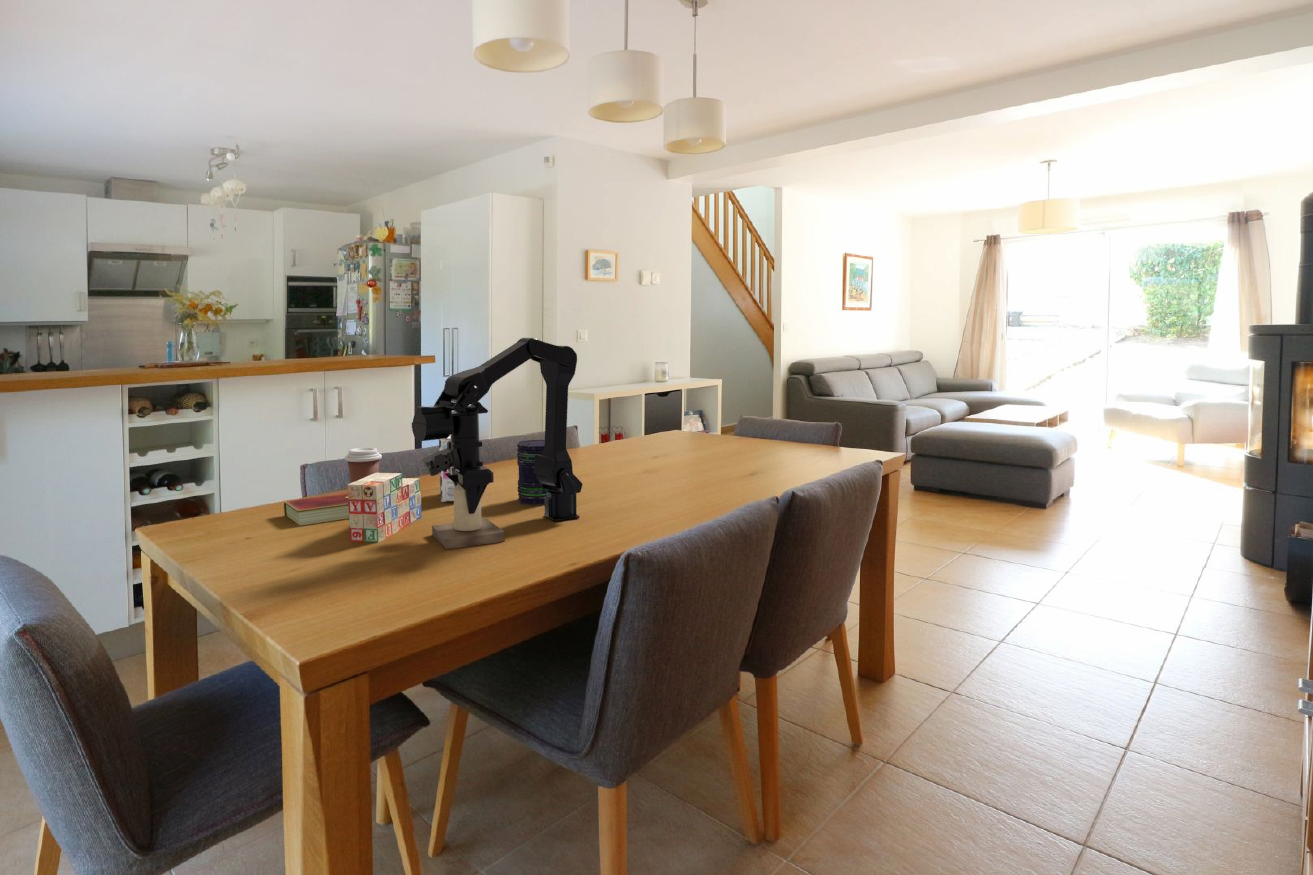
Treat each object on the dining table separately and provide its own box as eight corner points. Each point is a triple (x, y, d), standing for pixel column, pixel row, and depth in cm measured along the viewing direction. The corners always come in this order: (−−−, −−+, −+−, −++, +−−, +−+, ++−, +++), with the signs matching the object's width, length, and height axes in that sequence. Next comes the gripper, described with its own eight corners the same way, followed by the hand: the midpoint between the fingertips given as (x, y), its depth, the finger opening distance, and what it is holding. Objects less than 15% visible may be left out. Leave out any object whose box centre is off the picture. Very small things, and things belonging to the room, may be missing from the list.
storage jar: (537, 494, 199) (536, 438, 197) (565, 499, 194) (564, 442, 191) (509, 501, 191) (508, 443, 189) (537, 507, 186) (536, 447, 183)
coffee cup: (352, 491, 202) (349, 446, 200) (387, 490, 203) (385, 446, 201) (342, 498, 193) (339, 452, 191) (378, 498, 194) (376, 452, 192)
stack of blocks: (396, 516, 176) (394, 464, 174) (422, 517, 176) (420, 465, 174) (349, 542, 155) (346, 483, 153) (378, 543, 155) (375, 484, 153)
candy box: (463, 503, 189) (461, 438, 187) (440, 503, 189) (437, 438, 187) (477, 491, 203) (475, 430, 200) (455, 491, 203) (453, 430, 201)
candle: (486, 526, 160) (486, 480, 158) (471, 532, 154) (470, 484, 153) (464, 524, 161) (463, 478, 160) (448, 529, 156) (448, 482, 155)
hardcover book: (284, 517, 176) (283, 499, 175) (375, 504, 189) (374, 488, 188) (298, 528, 167) (297, 509, 166) (392, 513, 180) (392, 496, 179)
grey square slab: (487, 527, 166) (487, 518, 166) (504, 541, 156) (504, 531, 156) (432, 534, 160) (431, 525, 160) (446, 549, 150) (446, 539, 150)
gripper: (414, 433, 159) (418, 505, 161) (436, 445, 143) (439, 525, 145) (467, 429, 165) (469, 499, 167) (493, 441, 148) (495, 518, 151)
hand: (467, 510), depth 157 cm, fingers open, 6 cm apart
